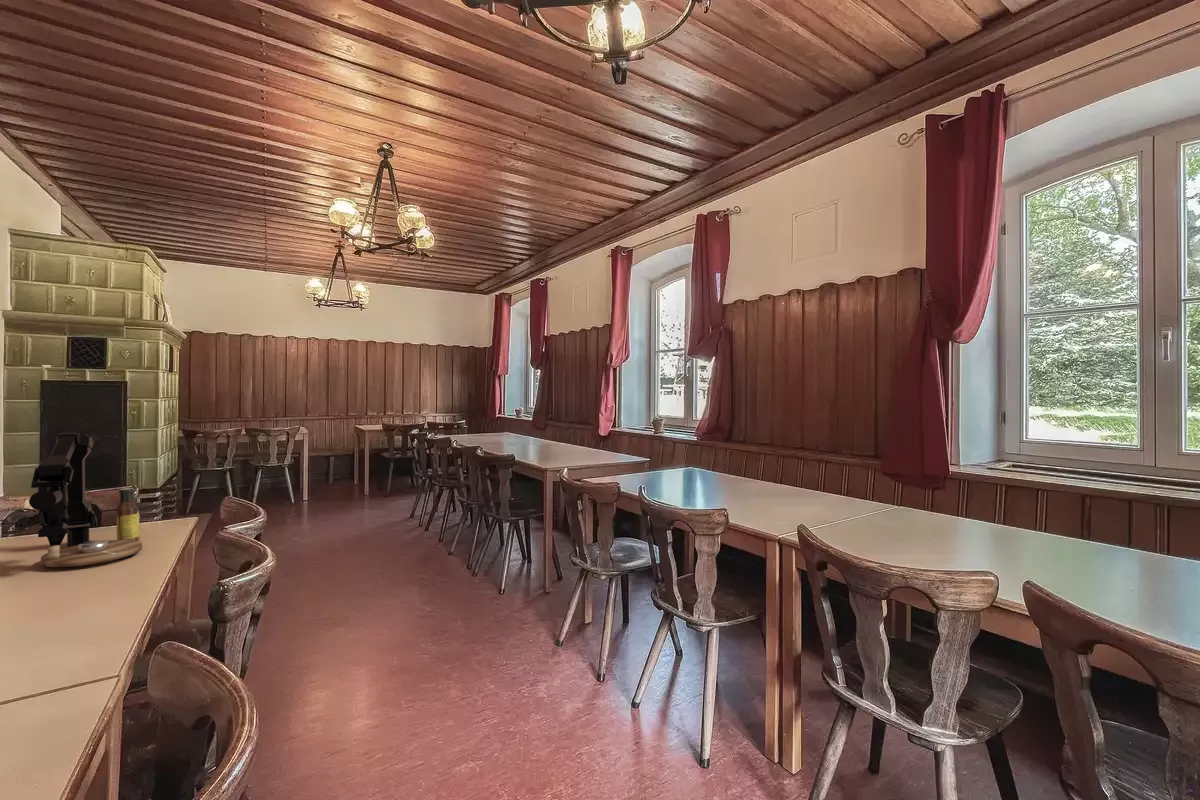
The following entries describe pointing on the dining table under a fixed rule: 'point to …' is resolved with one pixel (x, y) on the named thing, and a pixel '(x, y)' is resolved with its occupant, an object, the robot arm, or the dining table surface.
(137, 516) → the sauce bottle
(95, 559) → the turntable
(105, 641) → the dining table surface
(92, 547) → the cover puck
